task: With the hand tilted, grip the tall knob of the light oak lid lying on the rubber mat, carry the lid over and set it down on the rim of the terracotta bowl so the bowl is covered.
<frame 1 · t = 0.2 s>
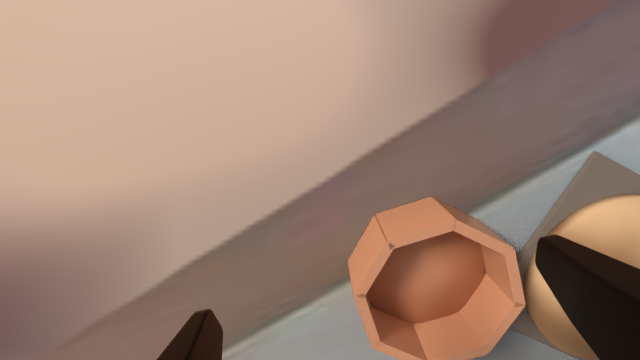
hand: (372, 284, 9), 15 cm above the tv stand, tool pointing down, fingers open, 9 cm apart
oak lid: (612, 277, 26), resting on rubber mat
rubber mat: (607, 274, 26), on the tv stand
terracotta bowl: (419, 265, 26), on the tv stand
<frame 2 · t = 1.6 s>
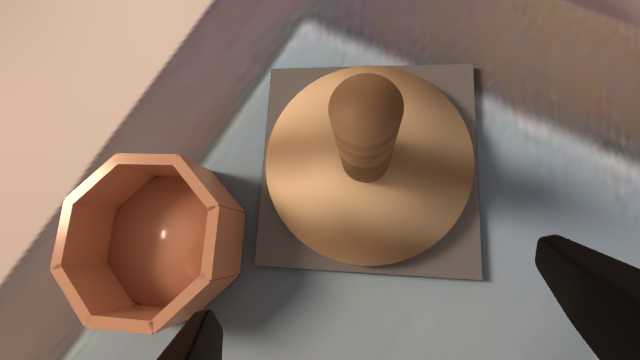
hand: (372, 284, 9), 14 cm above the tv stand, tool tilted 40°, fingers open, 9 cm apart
oak lid: (365, 163, 23), resting on rubber mat
rubber mat: (365, 164, 24), on the tv stand
terracotta bowl: (174, 239, 24), on the tv stand
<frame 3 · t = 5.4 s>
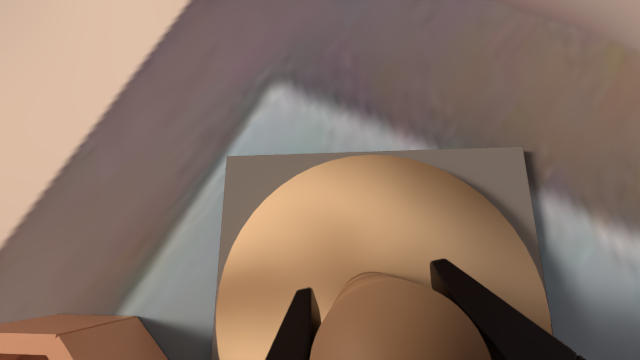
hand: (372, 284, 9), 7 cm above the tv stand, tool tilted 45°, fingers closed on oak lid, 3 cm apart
oak lid: (372, 307, 15), point 1 cm above the tv stand, touching gripper, rubber mat
rubber mat: (372, 306, 15), on the tv stand
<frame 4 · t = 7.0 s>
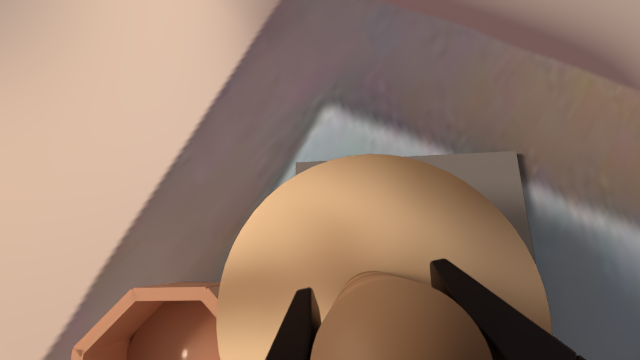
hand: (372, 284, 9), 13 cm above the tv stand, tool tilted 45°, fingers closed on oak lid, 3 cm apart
oak lid: (373, 306, 15), point 7 cm above the tv stand, touching gripper
rubber mat: (410, 268, 21), on the tv stand
when the fingers open (12 cm above the tv stand, at t = 8.4 s): oak lid drops 1 cm, resting on terracotta bowl.
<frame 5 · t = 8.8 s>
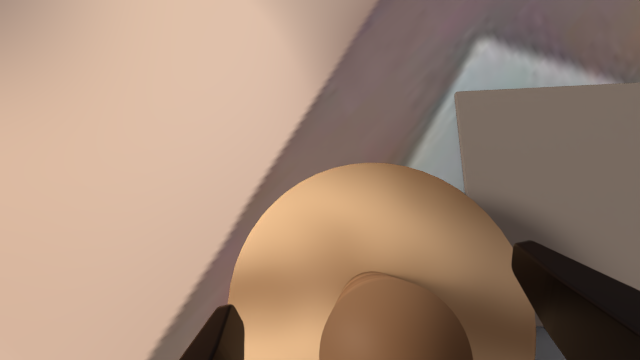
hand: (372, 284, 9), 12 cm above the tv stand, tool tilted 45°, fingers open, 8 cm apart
oak lid: (372, 304, 16), point 4 cm above the tv stand, touching terracotta bowl
rubber mat: (590, 197, 20), on the tv stand
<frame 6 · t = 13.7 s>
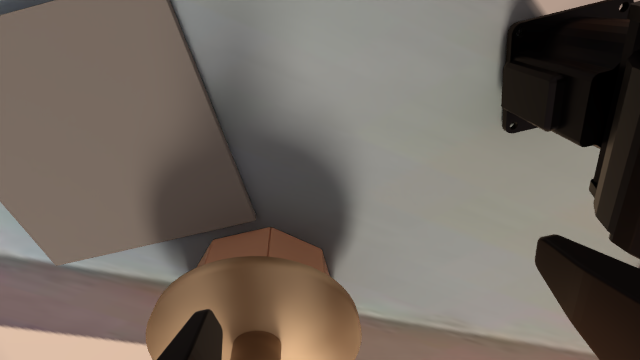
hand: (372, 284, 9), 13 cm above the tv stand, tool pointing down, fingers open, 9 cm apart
oak lid: (258, 332, 23), point 4 cm above the tv stand, touching terracotta bowl
rubber mat: (99, 146, 20), on the tv stand
terracotta bowl: (263, 283, 26), on the tv stand
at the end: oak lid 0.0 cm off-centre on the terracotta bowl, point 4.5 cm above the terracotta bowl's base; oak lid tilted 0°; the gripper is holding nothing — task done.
